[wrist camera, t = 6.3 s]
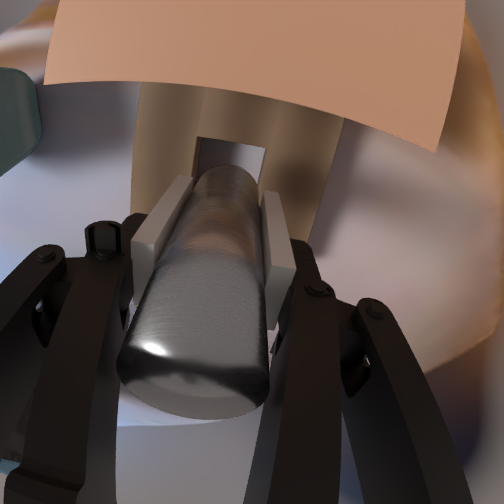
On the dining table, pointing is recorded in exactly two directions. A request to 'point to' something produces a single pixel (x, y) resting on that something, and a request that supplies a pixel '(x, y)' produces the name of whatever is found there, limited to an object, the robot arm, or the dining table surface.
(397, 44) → the awning
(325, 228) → the dining table surface
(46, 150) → the dining table surface
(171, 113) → the socket block
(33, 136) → the flower pot
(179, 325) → the peg
